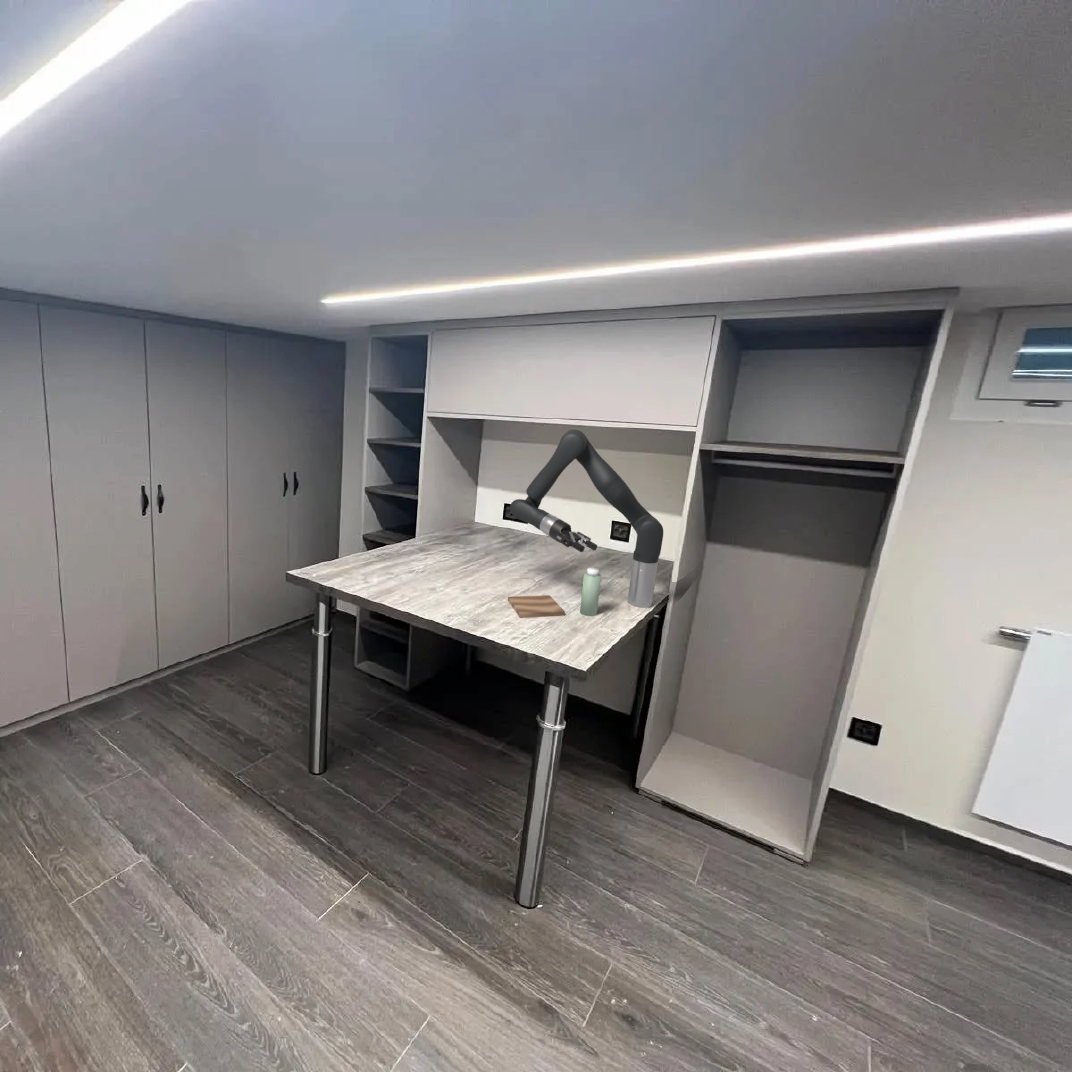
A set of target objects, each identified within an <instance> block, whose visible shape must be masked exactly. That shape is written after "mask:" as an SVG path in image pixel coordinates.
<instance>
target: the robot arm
mask: <svg viewBox="0 0 1072 1072" xmlns="http://www.w3.org/2000/svg"><path fill="white" fill-rule="evenodd" d="M574 460H576V461H577V463H579V464H580V465H581V466H582V467H583V469H584V470H585V471H586V473H587V475H588V477H589V479H590V480H591V482H592V484H593V485H594V487H595V489H596V490H597V491H598V493H600V495H601V496H602V497H603V498H604V499H605V500H606V501H607V503H609V505H611V506H612V507H613V508H614V509H615V510H617V511H618V512H619V513H621V514H622V516H624V517H625V519H626V520H627V521H628V523H629V524H630V525H631V527H632V528H633V530H634V531H635V533H636V542H635V548H634V550H633V554H632V555H633V556H632V563H631V570H630V579H629V584H628V585H629V586H628V591H627V592H628V594H627V603H628V605H631V606H633V607H637V608H642V609H643V608H651V607H652V606H653V600H654V591H655V586H656V585H655V584H656V580H657V579H656V578H657V571H658V565H659V564H658V563H659V558H660V556H661V551H662V546H663V539H664V527H663V525H662V523H660V521H659V520H658V519H657V518H656V517H655V516H653V515H652V514H651V513H650V512H649V511H647V509H646V508H645V507H644V506H643V505H642V504H641V503H640V501H639V500H638V499H637V498H636V496H635V494H634V493H633V491H632V490H631V488H630V487H629V485H628V484H627V483H626V482H625V480H624V479H623V478H622V477H621V476H620V475H619V474H618V473H617V472H616V471H615V470H614V469H613V468H612V466H611V465H610V464H609V463H608V462H606V460H605V459H604V458H602V456H601V455H600V454H599V453H598V452H597V450H596V448H594V446H593V445H592V443H591V442H590V440H589V439H588V438H587V436H586V435H585V433H584V432H583V431H582V430H579V429H569V430H568V431H566V432H565V433H564V434H563V435H562V437H561V438H560V441H559V443H558V445H557V447H556V449H555V451H554V453H553V454H552V456H551V457H550V459H549V460H548V462H547V463H546V464H545V465H544V466H543V467H542V469H540V471H539V472H538V473H537V475H536V476H535V477H533V480H532V481H531V482H530V483H529V485H528V487H527V488H526V491H525V493H526V495H527V497H526V498H525V499H524V498H523V499H522V498H521V499H520V498H519V499H518V498H517V499H514V500H513V501H512V502H511V503H510V506H509V511H510V513H511V514H512V516H513V517H514V518H516V519H517V520H520V521H522V522H524V523H527V524H529V525H532V526H533V527H534V528H536V529H538V530H539V531H541V532H542V533H543V534H545V535H546V536H547V537H549V538H551V539H553V540H554V541H556V542H557V543H559V544H561V545H563V546H565V547H566V548H571V549H574V550H577V551H578V552H579V553H583V552H584V550H585V548H586V547H587V548H589V549H590V550H592V551H596V550H597V549H598V544H596V543H594V542H593V541H592V538H591V537H590V536H588V535H585V534H584V533H582V532H580V531H577V532H576V531H572V527H571V525H570V524H569V523H568V522H566V521H564V520H563V519H562V518H559V517H557V516H556V515H552V514H551V513H549V512H547V511H546V510H544V509H541V508H540V505H541V504H542V502H543V501H542V500H543V499H544V498H545V496H546V495H547V494H548V492H549V491H550V490H551V488H552V487H554V485H555V483H556V482H557V480H558V479H559V477H560V476H561V474H562V473H563V472H564V471H565V470H566V468H567V467H568V466H569V465H570V464H571V463H572V462H573V461H574Z"/></svg>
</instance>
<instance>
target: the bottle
mask: <svg viewBox="0 0 1072 1072" xmlns="http://www.w3.org/2000/svg"><path fill="white" fill-rule="evenodd" d="M601 581H602V575H601V573H600V569H599V568H596V567H587V570H586V572H584V573H583V580H582V590H581V591H582V592H581V596H580V598H581V599H580V609H579V613H580V614H581V615H583V616H586V617H596V616H597V615H598V609H599V608H598V607H599V599H600V593H601V592H600V590H601Z"/></svg>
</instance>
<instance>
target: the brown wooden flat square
mask: <svg viewBox="0 0 1072 1072" xmlns="http://www.w3.org/2000/svg"><path fill="white" fill-rule="evenodd" d="M507 602H508V603H509V605H510V606H511V607H512V609H513V610H514V611H515V613H516V614H517V616H518V618H519V619H525V618H541V617H542V618H543V617H559V616H560V617H562V616H563V617H564V616H566V611H565V610H564V608H562V606H560V604H559V603H558V602H556V600H555V599H554V598H553V597H552V596H551V595H549V594H546V595H540V594H539V595H519V596H518V595H517V596H515V595H513V596H507Z"/></svg>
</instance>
